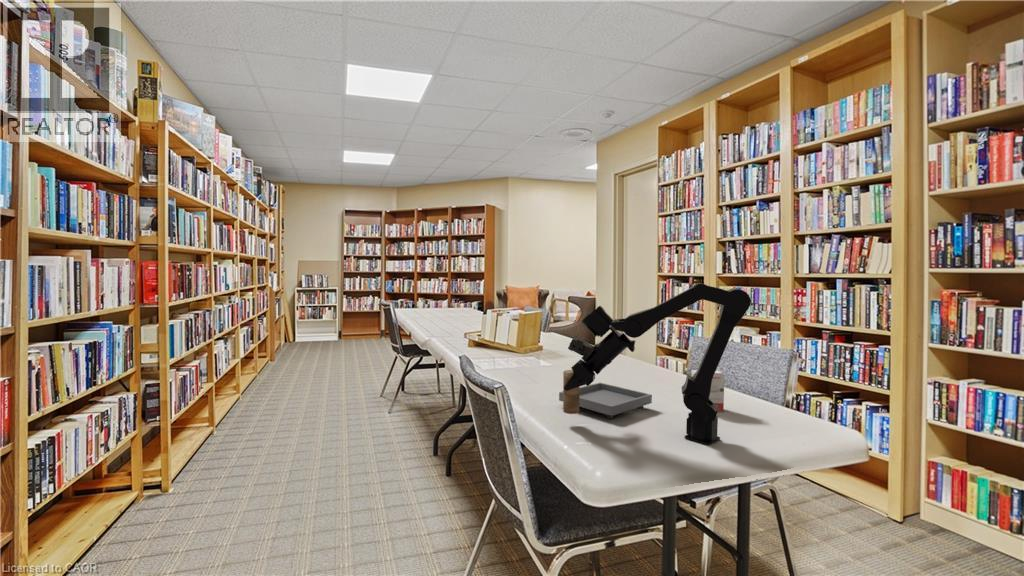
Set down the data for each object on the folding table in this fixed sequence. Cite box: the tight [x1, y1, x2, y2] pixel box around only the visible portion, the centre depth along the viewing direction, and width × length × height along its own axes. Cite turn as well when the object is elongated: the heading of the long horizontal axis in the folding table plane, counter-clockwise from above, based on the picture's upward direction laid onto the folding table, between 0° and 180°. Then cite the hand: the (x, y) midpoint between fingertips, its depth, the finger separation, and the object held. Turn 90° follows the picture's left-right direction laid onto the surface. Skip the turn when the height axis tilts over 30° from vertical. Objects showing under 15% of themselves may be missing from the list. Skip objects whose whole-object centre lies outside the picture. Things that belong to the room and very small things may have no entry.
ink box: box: [690, 369, 725, 413], centre depth 148 cm, size 9×5×12 cm, turn 84°
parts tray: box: [558, 382, 653, 420], centre depth 149 cm, size 20×20×4 cm
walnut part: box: [562, 369, 580, 415], centre depth 132 cm, size 4×4×11 cm
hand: (566, 387), depth 133 cm, fingers closed on walnut part, 4 cm apart
